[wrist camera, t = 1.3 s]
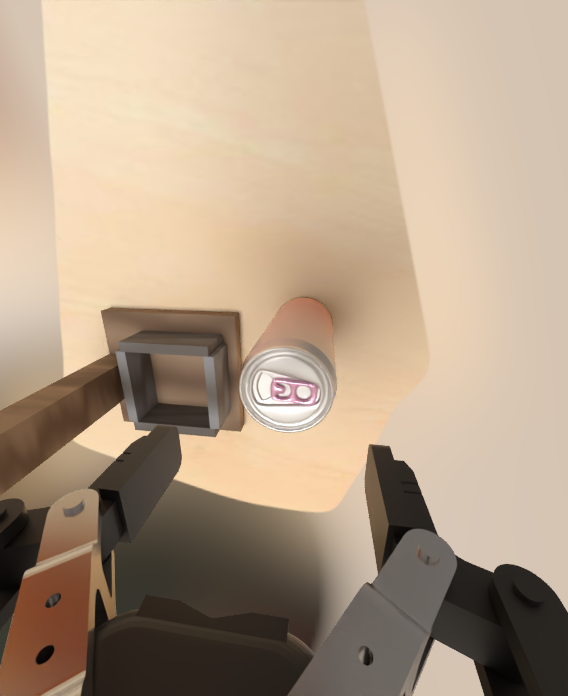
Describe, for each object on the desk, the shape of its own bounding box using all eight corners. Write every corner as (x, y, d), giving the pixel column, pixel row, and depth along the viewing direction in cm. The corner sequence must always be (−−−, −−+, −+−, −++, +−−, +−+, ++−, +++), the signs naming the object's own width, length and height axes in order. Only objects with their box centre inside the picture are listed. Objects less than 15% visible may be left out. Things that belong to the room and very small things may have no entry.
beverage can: (328, 354, 32) (330, 442, 18) (274, 347, 32) (234, 428, 18) (335, 299, 30) (344, 350, 16) (277, 293, 30) (235, 338, 16)
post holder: (110, 308, 33) (-97, 371, 17) (238, 312, 32) (144, 389, 15) (131, 414, 38) (-15, 543, 22) (244, 424, 36) (176, 573, 20)
